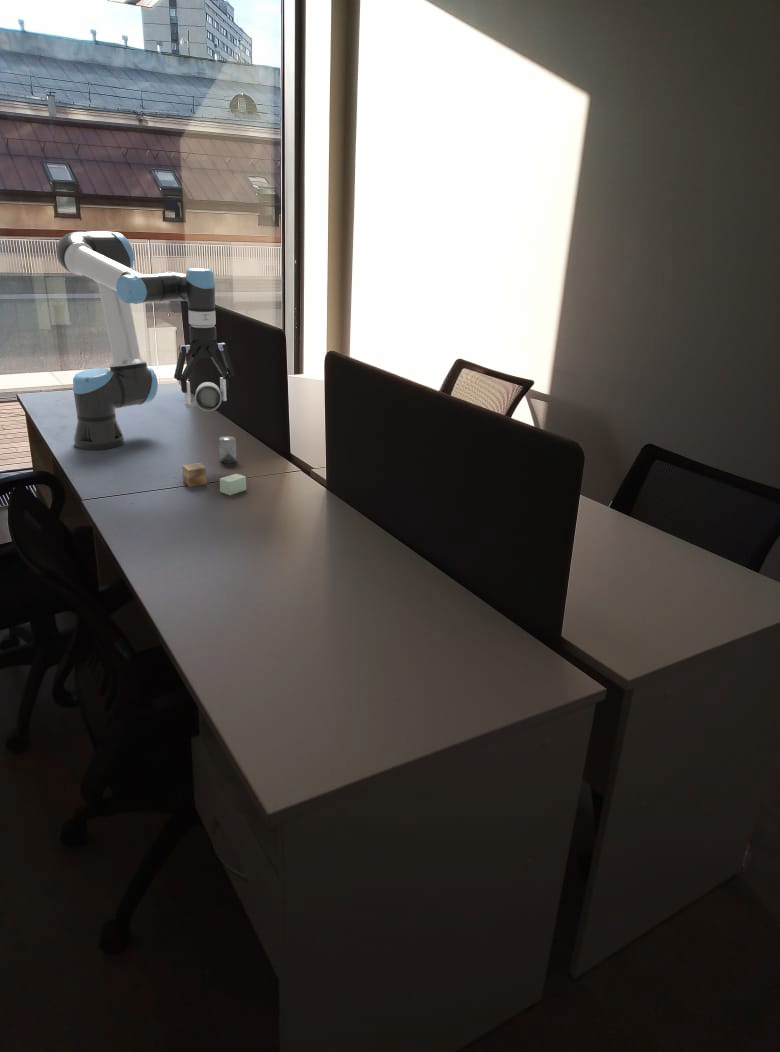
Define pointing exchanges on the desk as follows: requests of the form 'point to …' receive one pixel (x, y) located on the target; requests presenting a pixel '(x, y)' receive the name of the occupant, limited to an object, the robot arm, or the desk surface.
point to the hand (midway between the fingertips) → (206, 401)
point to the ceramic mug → (206, 397)
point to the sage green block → (232, 484)
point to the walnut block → (194, 474)
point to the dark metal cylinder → (227, 449)
